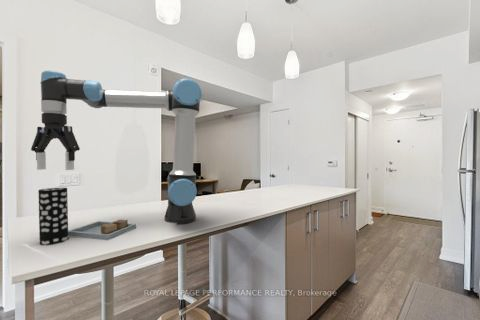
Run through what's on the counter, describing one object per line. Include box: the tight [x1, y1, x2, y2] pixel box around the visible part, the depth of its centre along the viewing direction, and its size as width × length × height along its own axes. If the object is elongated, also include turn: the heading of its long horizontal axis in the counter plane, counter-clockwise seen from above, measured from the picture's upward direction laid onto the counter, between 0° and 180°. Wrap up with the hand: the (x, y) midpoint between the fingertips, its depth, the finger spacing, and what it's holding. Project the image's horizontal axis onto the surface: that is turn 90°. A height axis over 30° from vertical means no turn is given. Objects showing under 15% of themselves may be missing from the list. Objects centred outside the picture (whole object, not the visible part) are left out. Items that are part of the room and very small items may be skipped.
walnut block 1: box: [101, 223, 117, 234], centre depth 93 cm, size 4×4×4 cm
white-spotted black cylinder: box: [37, 187, 69, 246], centre depth 87 cm, size 8×8×20 cm
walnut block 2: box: [112, 219, 129, 231], centre depth 99 cm, size 4×4×4 cm
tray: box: [68, 220, 137, 241], centre depth 97 cm, size 20×15×2 cm
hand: (55, 169), depth 90 cm, fingers open, 13 cm apart
